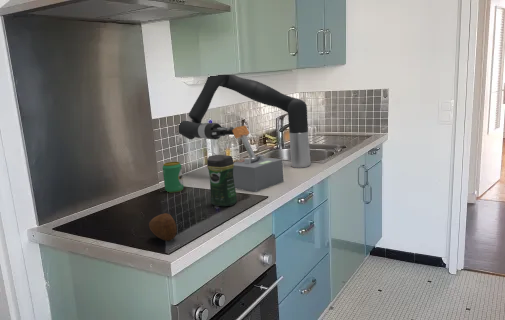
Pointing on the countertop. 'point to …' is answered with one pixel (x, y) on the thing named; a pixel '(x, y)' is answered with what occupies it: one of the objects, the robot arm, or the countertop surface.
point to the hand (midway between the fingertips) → (236, 132)
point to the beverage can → (173, 177)
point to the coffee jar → (221, 180)
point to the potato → (163, 227)
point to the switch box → (257, 173)
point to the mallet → (245, 141)
